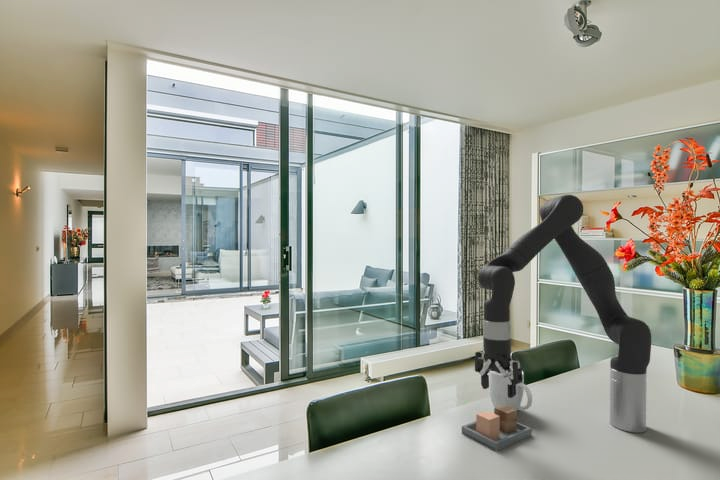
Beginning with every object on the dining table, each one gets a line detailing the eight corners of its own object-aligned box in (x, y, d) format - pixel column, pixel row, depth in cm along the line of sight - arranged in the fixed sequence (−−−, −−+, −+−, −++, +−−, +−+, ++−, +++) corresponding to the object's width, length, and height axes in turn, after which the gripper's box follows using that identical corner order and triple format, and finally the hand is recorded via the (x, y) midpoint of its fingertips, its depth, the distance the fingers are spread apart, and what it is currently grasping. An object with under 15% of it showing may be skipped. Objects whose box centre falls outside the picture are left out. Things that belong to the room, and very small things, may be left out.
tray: (496, 419, 127) (496, 413, 127) (531, 435, 117) (531, 428, 117) (461, 433, 118) (461, 426, 118) (496, 451, 108) (496, 443, 108)
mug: (541, 416, 129) (541, 375, 129) (520, 424, 123) (520, 382, 123) (502, 400, 142) (502, 363, 142) (481, 407, 136) (481, 368, 136)
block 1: (476, 435, 115) (476, 414, 115) (486, 430, 118) (486, 410, 118) (489, 441, 112) (489, 420, 112) (499, 437, 114) (499, 416, 114)
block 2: (494, 427, 120) (494, 407, 120) (503, 424, 122) (503, 404, 122) (507, 434, 116) (507, 413, 116) (516, 430, 119) (516, 409, 119)
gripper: (527, 338, 111) (528, 397, 111) (484, 329, 123) (485, 382, 123) (510, 342, 107) (512, 403, 107) (468, 333, 119) (469, 388, 119)
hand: (497, 392), depth 115 cm, fingers open, 8 cm apart
